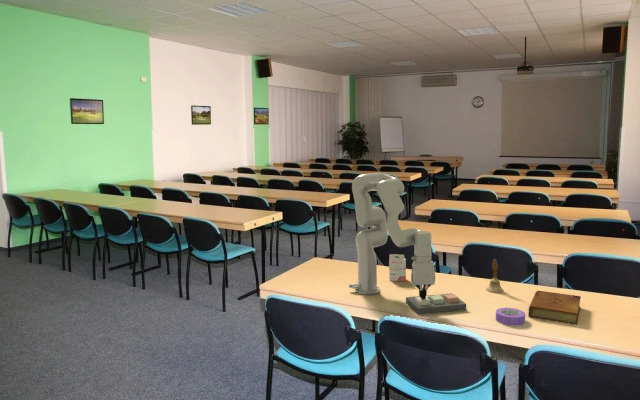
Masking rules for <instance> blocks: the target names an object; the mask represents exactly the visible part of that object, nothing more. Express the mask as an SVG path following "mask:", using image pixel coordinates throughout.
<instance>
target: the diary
mask: <svg viewBox="0 0 640 400" xmlns="http://www.w3.org/2000/svg"><path fill="white" fill-rule="evenodd" d="M580 303H581V295H576V294H575V295H574V294H566V293H559V292H551V291H546V290H545V291H544V290H536V291H535V293H534V295H533V298H532V299H531V302H530V304H529V306H528V318H532V319H538V320H544V321H545V320H546V321H551V322H556V321H557V323H562V322H563V324H568V323H570V324H569V325H575V324H576V325H578V322H579V315H580V310H581V306H580ZM576 325H575V326H576Z"/></svg>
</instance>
